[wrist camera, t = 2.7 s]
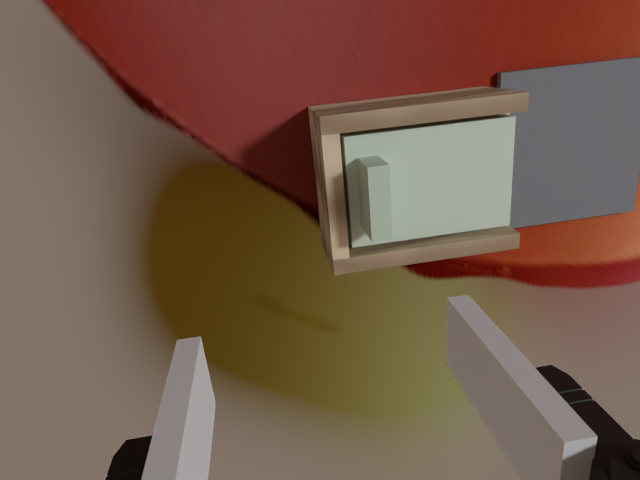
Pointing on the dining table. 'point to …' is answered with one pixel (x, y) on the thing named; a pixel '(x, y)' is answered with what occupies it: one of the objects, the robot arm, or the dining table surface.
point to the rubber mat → (575, 141)
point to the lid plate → (428, 179)
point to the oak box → (392, 114)
